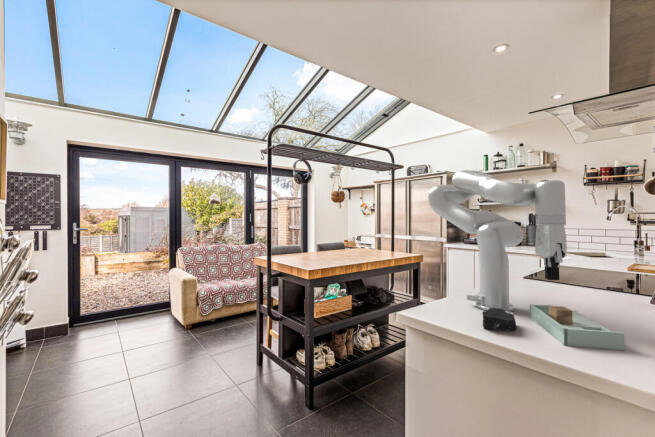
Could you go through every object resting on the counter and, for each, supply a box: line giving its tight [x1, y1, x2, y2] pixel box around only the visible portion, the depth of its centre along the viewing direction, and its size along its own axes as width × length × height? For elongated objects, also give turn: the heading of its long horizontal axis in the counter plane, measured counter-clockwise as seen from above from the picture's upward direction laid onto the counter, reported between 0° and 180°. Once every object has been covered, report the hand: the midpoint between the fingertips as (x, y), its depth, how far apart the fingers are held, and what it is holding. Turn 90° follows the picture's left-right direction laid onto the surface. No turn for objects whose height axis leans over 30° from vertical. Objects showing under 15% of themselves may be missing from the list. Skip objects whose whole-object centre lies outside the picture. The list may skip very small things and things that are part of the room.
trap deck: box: [529, 304, 626, 351], centre depth 86 cm, size 13×22×4 cm, turn 165°
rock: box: [482, 308, 517, 332], centre depth 90 cm, size 10×9×6 cm
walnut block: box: [549, 305, 573, 325], centre depth 86 cm, size 4×4×4 cm
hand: (552, 279), depth 91 cm, fingers closed
